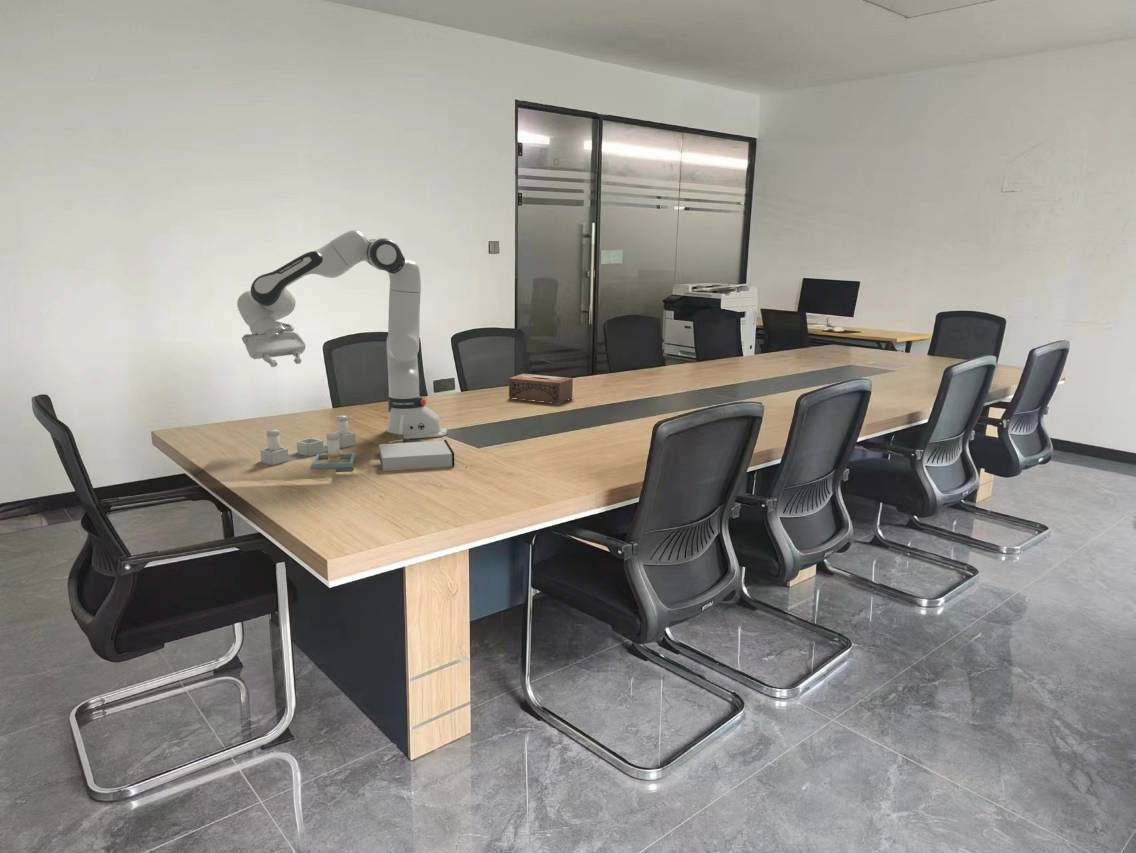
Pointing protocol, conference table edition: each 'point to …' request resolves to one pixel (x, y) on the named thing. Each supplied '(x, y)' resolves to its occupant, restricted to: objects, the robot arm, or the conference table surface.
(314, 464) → the tray
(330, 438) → the marked fuse
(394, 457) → the disc drive
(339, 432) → the peg
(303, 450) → the fuse holder
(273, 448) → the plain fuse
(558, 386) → the tissue box cover
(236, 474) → the conference table surface
